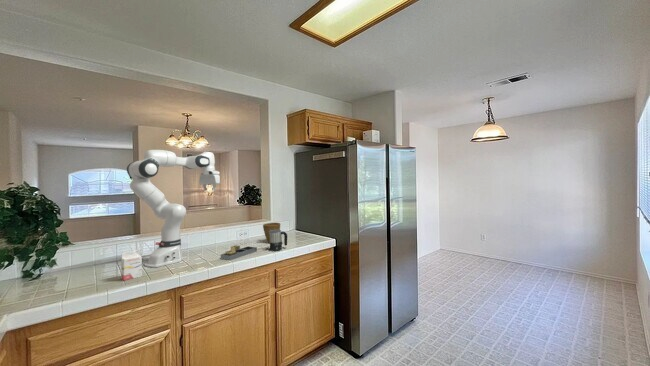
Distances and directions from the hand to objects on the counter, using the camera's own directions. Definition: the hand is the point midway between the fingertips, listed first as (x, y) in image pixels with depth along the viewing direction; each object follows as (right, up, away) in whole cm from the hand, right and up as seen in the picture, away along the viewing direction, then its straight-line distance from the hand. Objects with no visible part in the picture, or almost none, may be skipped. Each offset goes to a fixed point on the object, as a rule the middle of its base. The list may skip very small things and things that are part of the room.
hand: (209, 190), depth 208 cm
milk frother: (+52, -46, -1) cm, 70 cm away
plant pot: (+45, -46, +20) cm, 67 cm away
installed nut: (+26, -46, -26) cm, 59 cm away
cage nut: (+23, -46, -9) cm, 52 cm away
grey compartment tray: (+30, -46, -19) cm, 58 cm away
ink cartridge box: (-18, -48, -59) cm, 78 cm away
